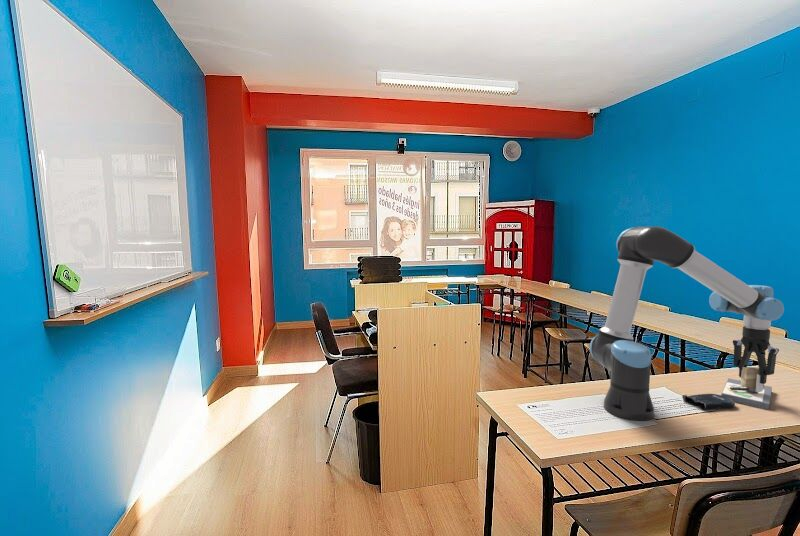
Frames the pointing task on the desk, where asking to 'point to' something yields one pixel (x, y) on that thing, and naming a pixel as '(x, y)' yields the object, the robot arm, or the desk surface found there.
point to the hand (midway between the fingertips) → (751, 388)
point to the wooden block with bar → (748, 380)
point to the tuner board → (747, 395)
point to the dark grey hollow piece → (710, 400)
